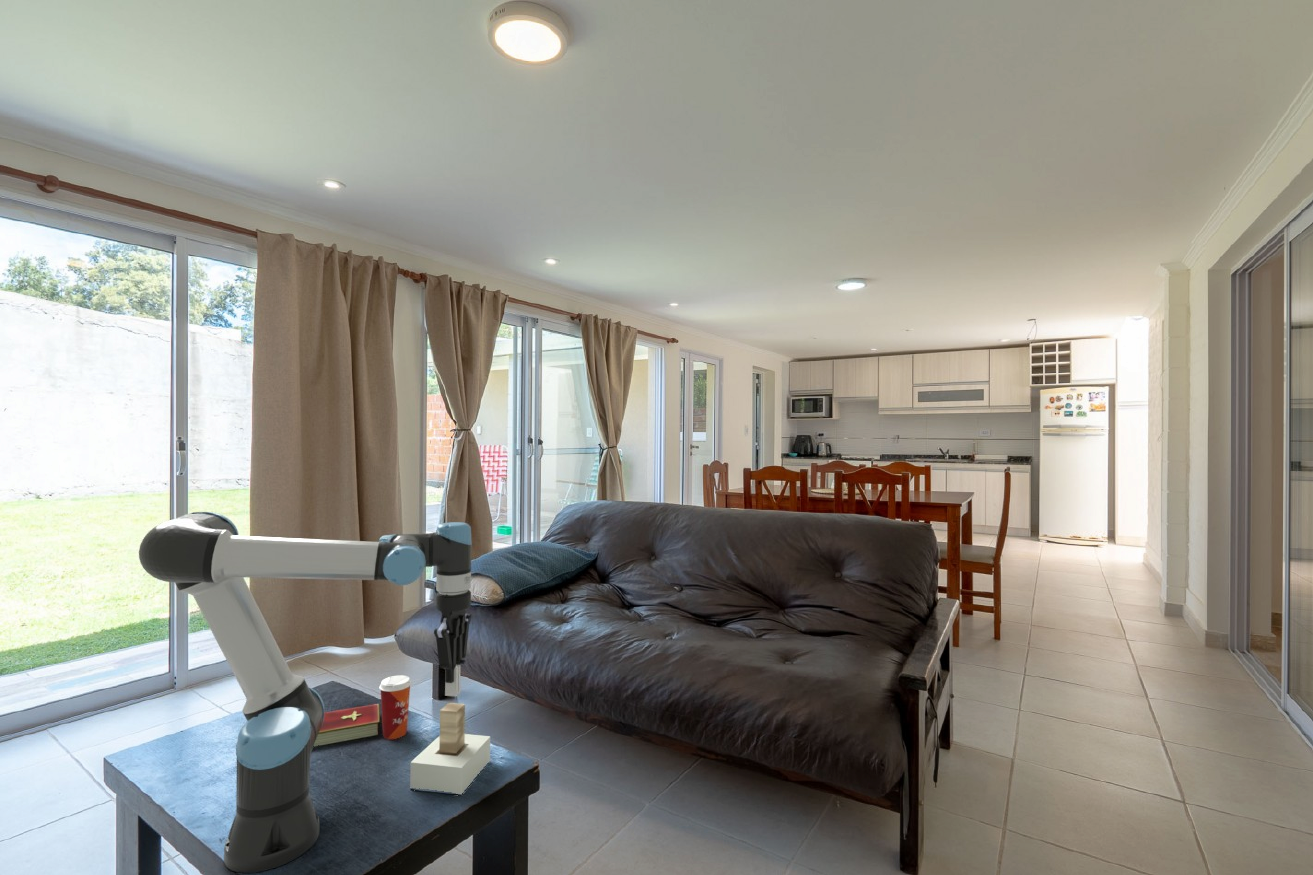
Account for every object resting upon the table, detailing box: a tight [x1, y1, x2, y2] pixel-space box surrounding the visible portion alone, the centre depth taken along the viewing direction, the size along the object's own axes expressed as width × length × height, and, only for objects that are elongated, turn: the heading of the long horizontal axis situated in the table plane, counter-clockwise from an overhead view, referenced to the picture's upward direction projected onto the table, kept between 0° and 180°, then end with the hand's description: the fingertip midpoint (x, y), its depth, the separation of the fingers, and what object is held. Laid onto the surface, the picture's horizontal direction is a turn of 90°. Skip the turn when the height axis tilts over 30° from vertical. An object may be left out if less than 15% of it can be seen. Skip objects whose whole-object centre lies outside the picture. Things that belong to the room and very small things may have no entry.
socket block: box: [409, 733, 491, 794], centre depth 137 cm, size 14×12×6 cm
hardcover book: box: [314, 703, 381, 747], centre depth 157 cm, size 12×21×4 cm, turn 115°
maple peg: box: [439, 702, 466, 756], centre depth 137 cm, size 4×4×14 cm
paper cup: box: [379, 674, 412, 740], centre depth 156 cm, size 8×8×14 cm
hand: (452, 694), depth 137 cm, fingers closed
